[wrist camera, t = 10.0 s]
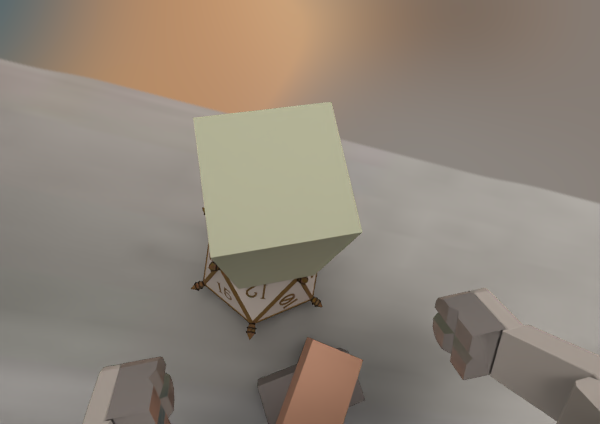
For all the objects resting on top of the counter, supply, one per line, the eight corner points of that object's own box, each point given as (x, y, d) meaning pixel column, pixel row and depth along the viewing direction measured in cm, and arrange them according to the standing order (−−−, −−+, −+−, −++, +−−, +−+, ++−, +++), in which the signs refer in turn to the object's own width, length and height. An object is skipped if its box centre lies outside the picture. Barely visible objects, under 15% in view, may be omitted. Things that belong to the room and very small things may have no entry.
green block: (238, 289, 19) (210, 257, 9) (228, 215, 20) (193, 117, 10) (314, 275, 19) (362, 232, 10) (300, 204, 20) (331, 101, 11)
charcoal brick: (271, 424, 24) (272, 439, 21) (258, 378, 25) (257, 386, 22) (354, 390, 25) (365, 399, 23) (338, 347, 26) (347, 351, 23)
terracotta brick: (317, 457, 21) (325, 478, 19) (270, 437, 21) (271, 455, 19) (351, 355, 23) (363, 360, 20) (307, 336, 23) (313, 339, 20)
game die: (257, 249, 31) (269, 143, 25) (339, 307, 27) (375, 198, 22) (166, 309, 25) (154, 187, 19) (255, 394, 21) (274, 274, 15)
